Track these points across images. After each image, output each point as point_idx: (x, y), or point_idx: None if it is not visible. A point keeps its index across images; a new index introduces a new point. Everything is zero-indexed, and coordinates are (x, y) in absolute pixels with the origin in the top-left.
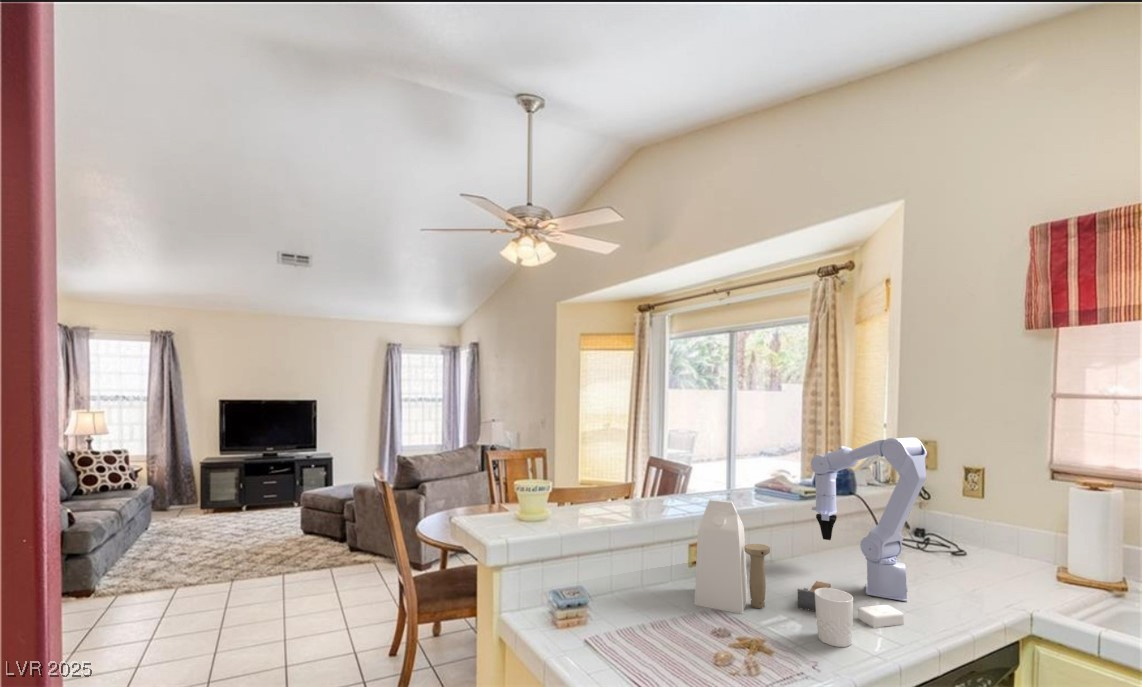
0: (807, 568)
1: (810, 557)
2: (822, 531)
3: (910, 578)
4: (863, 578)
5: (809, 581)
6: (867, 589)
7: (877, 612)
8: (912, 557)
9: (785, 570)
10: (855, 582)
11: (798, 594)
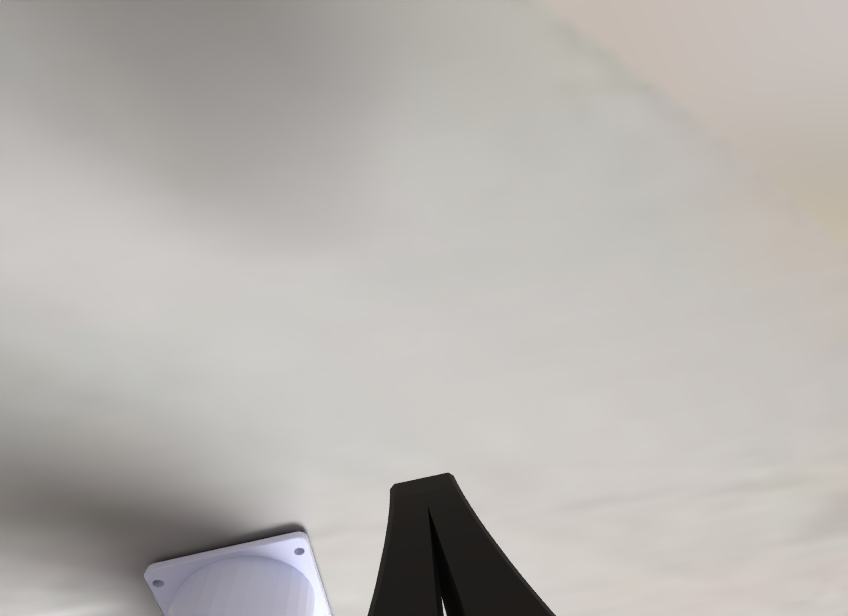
0: (387, 205)
1: (652, 172)
2: (384, 597)
3: None
4: None
5: (101, 279)
6: (206, 563)
7: None
8: (827, 560)
9: (206, 51)
10: (318, 483)
11: None
